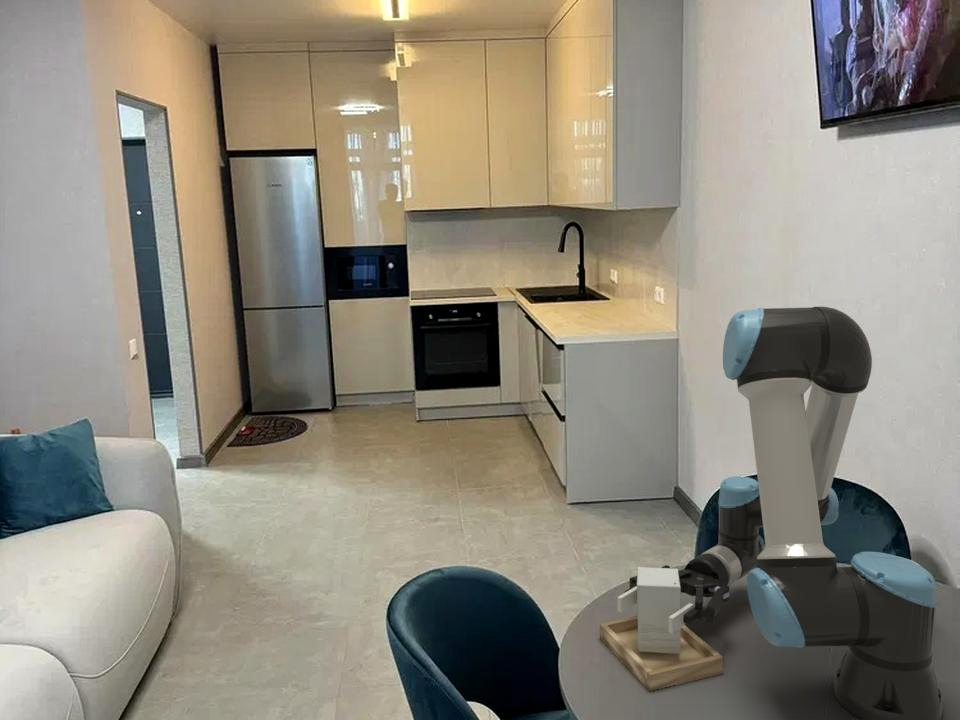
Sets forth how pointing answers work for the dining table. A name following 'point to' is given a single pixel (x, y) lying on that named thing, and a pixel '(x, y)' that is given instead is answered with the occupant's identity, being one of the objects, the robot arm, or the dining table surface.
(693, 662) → the tray
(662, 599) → the supplement box
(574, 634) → the dining table surface
